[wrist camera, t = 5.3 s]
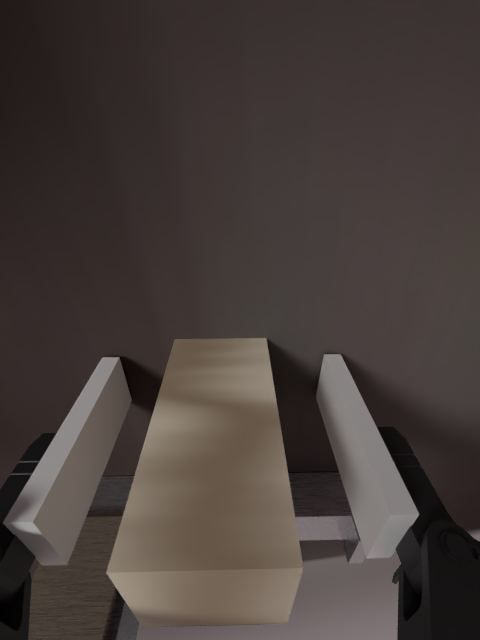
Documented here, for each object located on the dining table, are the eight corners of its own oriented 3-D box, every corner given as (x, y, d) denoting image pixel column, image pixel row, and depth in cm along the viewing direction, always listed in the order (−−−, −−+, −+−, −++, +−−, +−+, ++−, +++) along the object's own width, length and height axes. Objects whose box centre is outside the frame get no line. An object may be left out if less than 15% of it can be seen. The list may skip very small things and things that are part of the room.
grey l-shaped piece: (68, 505, 20) (-64, 801, 11) (48, 473, 18) (-137, 807, 9) (343, 500, 20) (429, 785, 11) (355, 467, 18) (472, 787, 9)
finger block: (185, 409, 15) (145, 632, 8) (174, 339, 13) (105, 572, 6) (262, 408, 15) (285, 628, 8) (266, 338, 13) (303, 568, 6)
